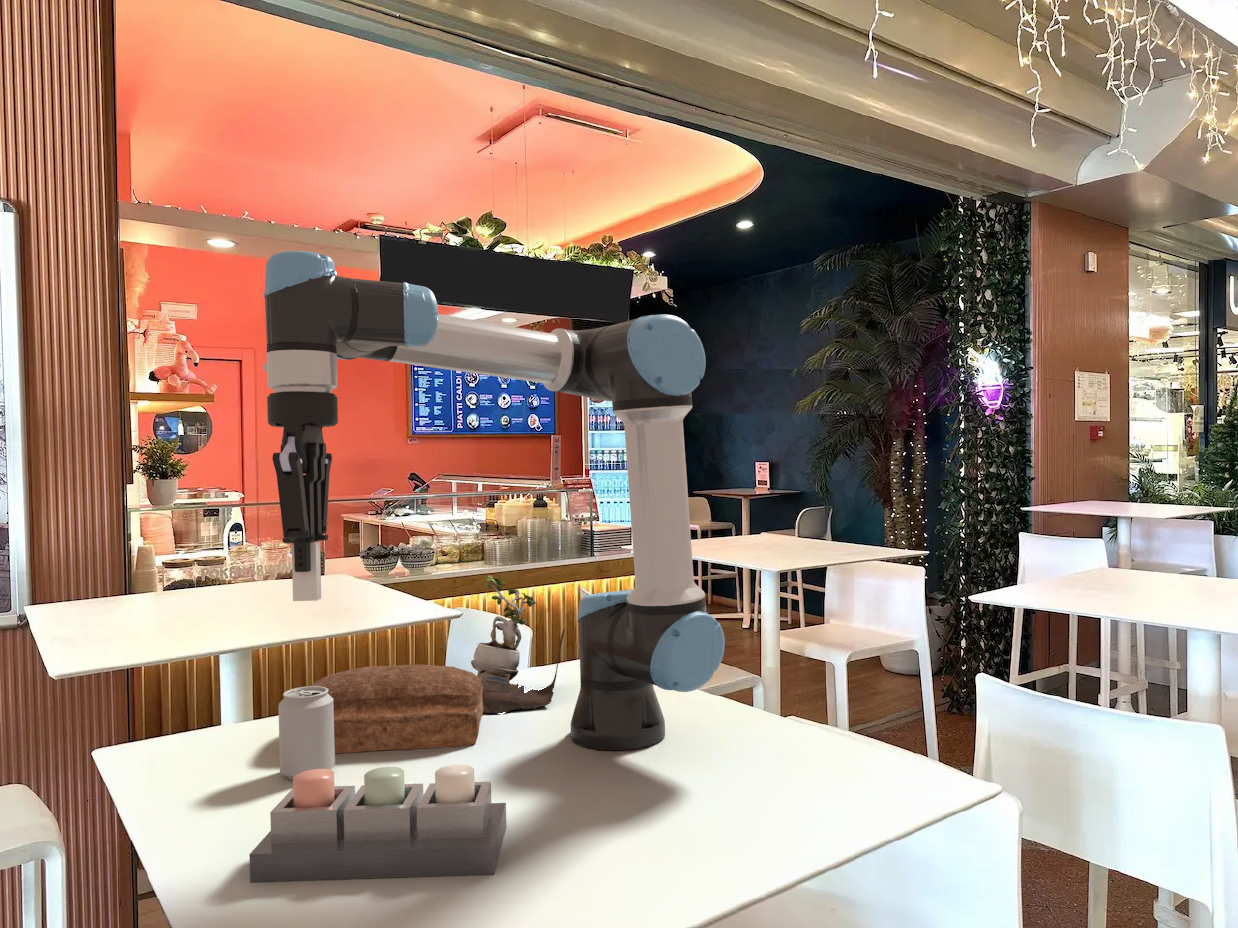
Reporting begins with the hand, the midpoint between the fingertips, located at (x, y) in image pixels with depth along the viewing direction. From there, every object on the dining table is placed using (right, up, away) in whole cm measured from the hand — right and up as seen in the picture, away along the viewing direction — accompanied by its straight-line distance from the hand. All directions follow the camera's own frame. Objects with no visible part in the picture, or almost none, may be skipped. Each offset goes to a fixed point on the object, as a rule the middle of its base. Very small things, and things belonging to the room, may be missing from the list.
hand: (307, 599), depth 99 cm
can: (-10, -30, +27) cm, 41 cm away
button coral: (+1, -25, 0) cm, 25 cm away
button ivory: (+17, -24, 0) cm, 29 cm away
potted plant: (+14, -29, +65) cm, 72 cm away
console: (+9, -29, 0) cm, 30 cm away
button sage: (+9, -24, 0) cm, 26 cm away
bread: (-2, -30, +44) cm, 53 cm away
